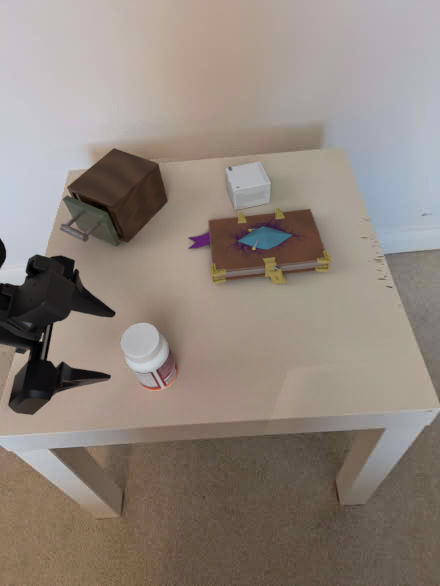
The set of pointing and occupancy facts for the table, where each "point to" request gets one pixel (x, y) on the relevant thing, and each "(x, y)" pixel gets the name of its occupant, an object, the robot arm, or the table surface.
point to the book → (264, 246)
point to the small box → (248, 185)
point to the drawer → (91, 220)
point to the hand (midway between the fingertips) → (112, 344)
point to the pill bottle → (149, 356)
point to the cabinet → (124, 189)
